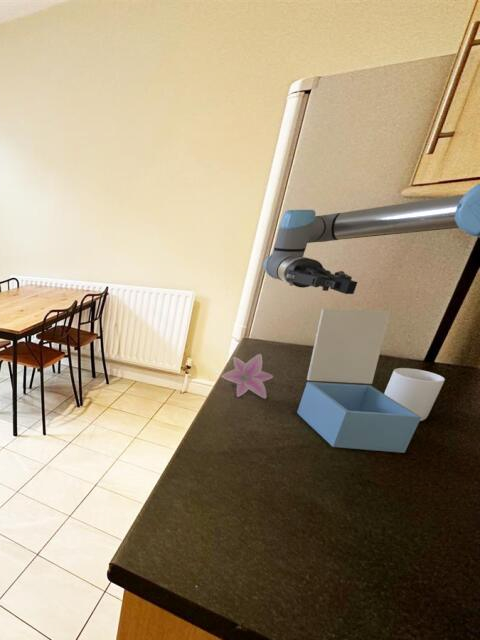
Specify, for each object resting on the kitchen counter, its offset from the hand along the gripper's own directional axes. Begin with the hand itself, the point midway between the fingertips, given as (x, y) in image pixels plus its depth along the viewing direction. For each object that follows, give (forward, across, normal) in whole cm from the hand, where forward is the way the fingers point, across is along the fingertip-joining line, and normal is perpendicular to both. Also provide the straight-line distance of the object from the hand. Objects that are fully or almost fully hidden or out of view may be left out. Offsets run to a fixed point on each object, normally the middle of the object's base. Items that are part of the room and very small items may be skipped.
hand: (351, 288), depth 93 cm
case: (+15, 0, -29) cm, 33 cm away
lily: (-4, +14, -29) cm, 33 cm away
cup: (+1, -18, -29) cm, 34 cm away
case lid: (+6, 0, -12) cm, 13 cm away
